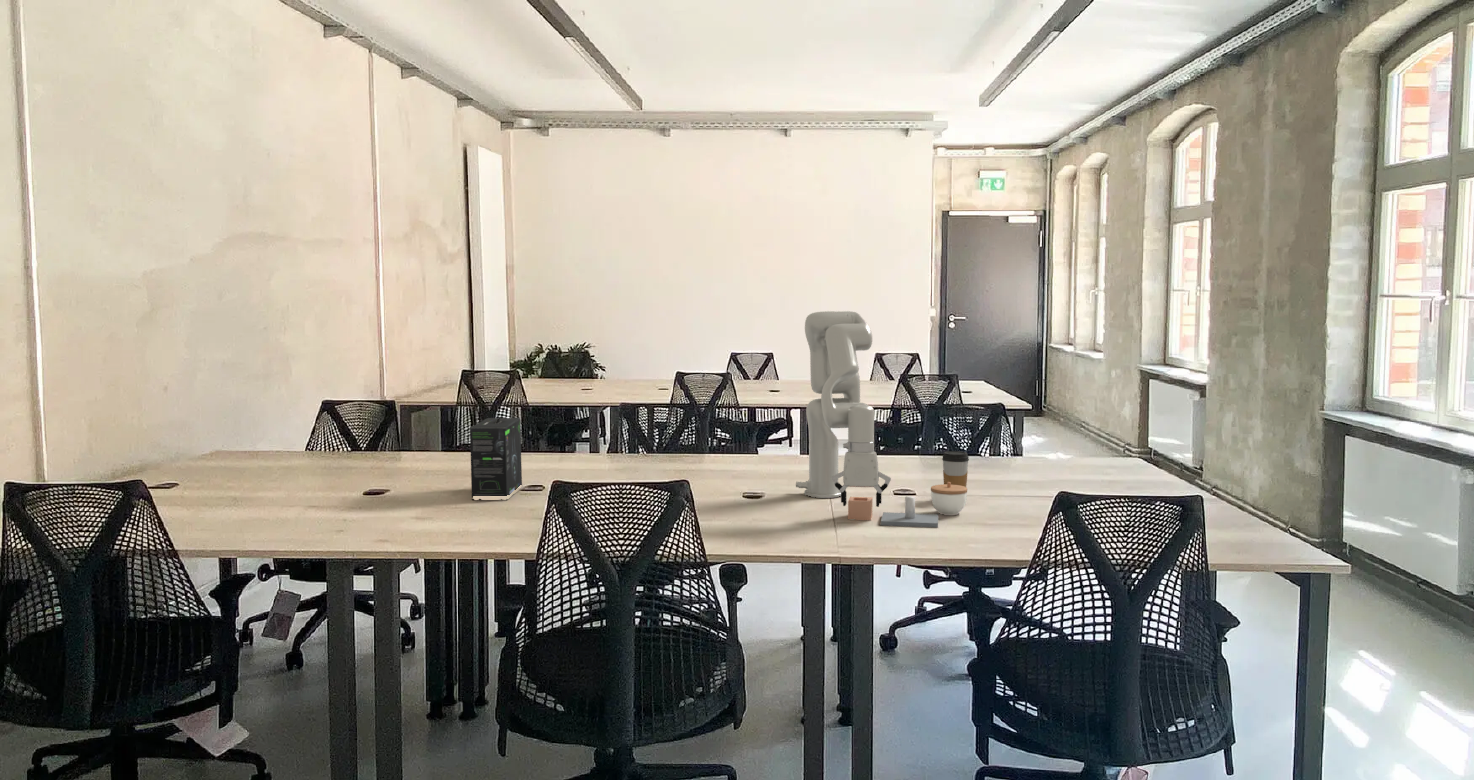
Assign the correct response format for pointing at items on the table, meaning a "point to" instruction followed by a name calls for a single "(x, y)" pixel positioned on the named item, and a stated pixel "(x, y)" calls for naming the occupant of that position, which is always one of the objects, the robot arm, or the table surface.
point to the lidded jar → (948, 498)
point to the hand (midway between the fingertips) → (861, 505)
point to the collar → (860, 508)
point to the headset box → (495, 457)
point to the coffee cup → (955, 467)
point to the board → (909, 522)
